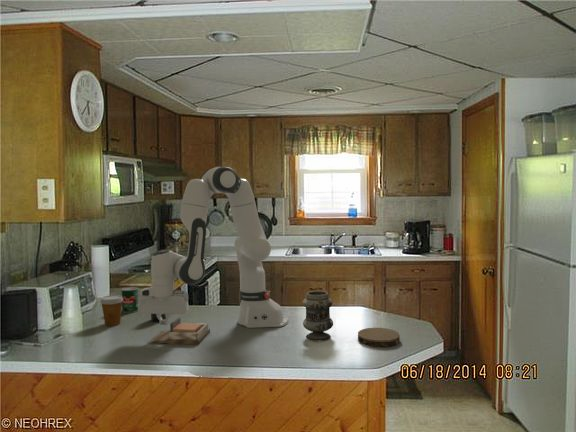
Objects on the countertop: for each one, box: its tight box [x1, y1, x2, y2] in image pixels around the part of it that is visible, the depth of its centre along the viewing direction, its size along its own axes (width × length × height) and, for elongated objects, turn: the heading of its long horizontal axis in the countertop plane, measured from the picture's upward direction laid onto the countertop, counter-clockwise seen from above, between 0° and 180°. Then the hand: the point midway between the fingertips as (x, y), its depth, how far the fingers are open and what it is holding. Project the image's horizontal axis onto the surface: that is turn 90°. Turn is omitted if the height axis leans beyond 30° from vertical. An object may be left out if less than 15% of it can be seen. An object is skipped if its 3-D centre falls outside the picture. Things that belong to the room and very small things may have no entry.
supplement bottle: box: [150, 314, 166, 322], centre depth 222 cm, size 7×7×12 cm
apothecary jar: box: [302, 290, 334, 342], centre depth 193 cm, size 12×12×18 cm
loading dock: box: [146, 322, 211, 346], centre depth 196 cm, size 21×15×5 cm
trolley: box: [169, 317, 203, 333], centre depth 194 cm, size 10×8×6 cm
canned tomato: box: [120, 286, 139, 314], centre depth 238 cm, size 8×8×11 cm
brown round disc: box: [357, 327, 401, 349], centre depth 189 cm, size 16×16×3 cm
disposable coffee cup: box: [100, 294, 123, 327], centre depth 216 cm, size 10×10×12 cm
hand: (163, 324), depth 196 cm, fingers closed
